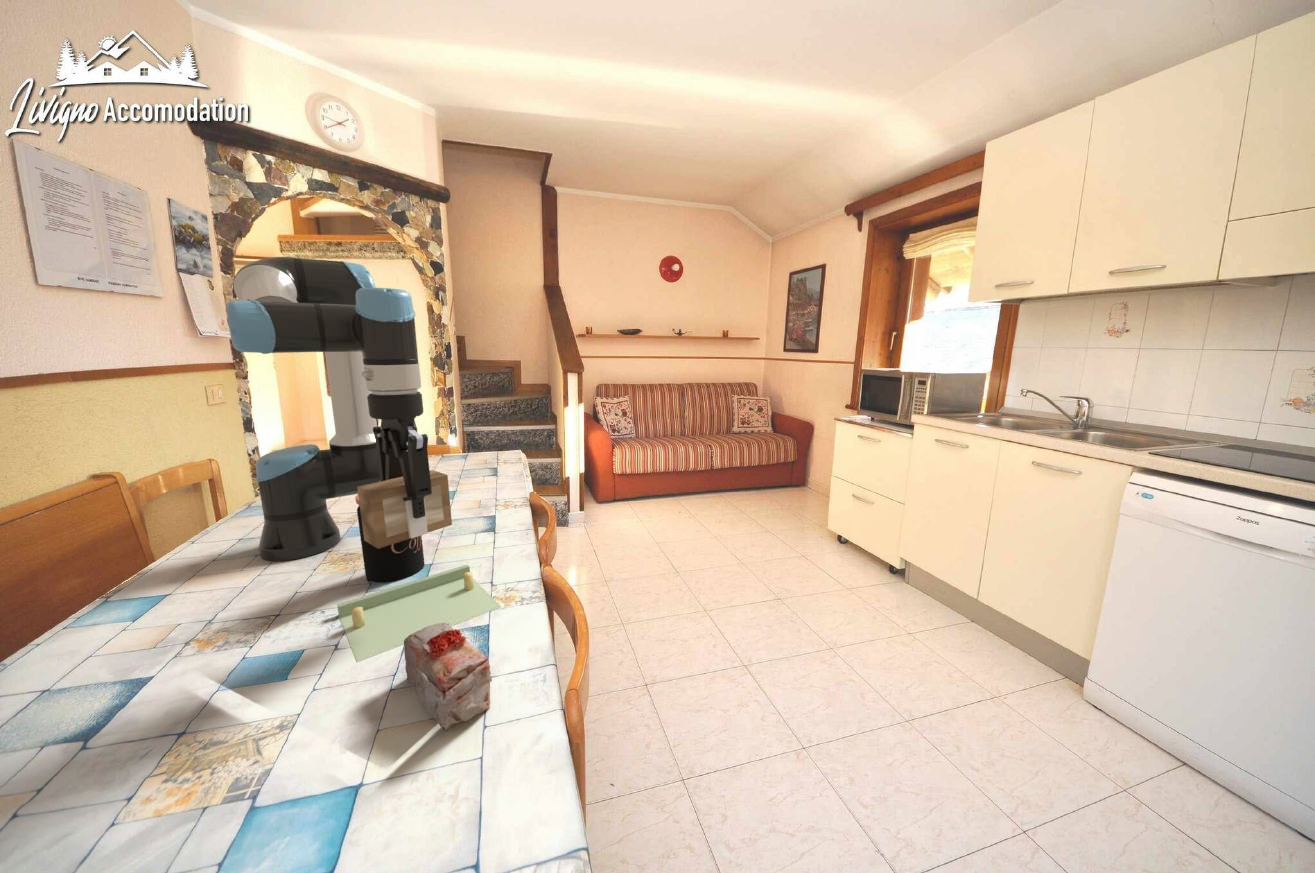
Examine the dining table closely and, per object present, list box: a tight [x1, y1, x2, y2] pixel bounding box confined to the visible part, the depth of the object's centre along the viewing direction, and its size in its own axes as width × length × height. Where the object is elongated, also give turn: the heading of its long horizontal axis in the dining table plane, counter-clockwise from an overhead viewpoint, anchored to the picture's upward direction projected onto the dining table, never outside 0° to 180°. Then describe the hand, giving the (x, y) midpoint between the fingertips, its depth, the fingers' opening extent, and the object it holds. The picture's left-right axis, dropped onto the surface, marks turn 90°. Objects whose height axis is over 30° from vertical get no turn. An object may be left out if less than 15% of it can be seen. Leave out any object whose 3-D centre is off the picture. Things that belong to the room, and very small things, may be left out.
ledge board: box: [336, 564, 502, 663], centre depth 82 cm, size 16×22×4 cm
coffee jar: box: [354, 494, 426, 584], centre depth 95 cm, size 11×11×18 cm
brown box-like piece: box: [357, 469, 453, 549], centre depth 78 cm, size 5×12×9 cm, turn 143°
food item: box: [403, 623, 492, 731], centre depth 63 cm, size 14×8×10 cm, turn 49°
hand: (409, 530), depth 78 cm, fingers closed on brown box-like piece, 5 cm apart
